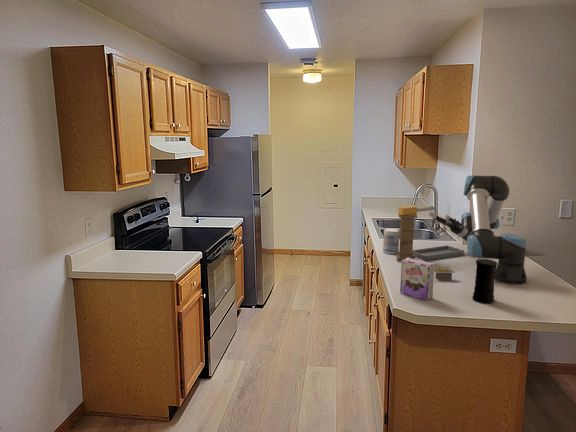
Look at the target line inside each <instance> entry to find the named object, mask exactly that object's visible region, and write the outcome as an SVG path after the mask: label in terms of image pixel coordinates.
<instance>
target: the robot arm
mask: <svg viewBox="0 0 576 432" xmlns="http://www.w3.org/2000/svg"><path fill="white" fill-rule="evenodd" d="M509 195H510V187H509V185H508V183H507V181H506V180H505V179H504V178H502V177H501V176H497V175H475V174H474V175H468V176H466V177H465V181H464V187H463V196H465V197H466V199H467V200H468V201H469V202H470V203H469V204H470V212H463V213H462V214H461V219H460V221H459V220H457V219H456V218H453V217H451V216H450V215H448V214H447V213H446V214H445V215H444V217H440V216H438V214H436V213H434V212H433V211H432V210H429V211H428V213H427V215H428V216H429V217H431V218H432V220H433V221H436V222H438V223H440V224H442V225H443V226H445V227H446V226H447V227H448V228H449V230H450V231H451V233H453V234H455V235H456V236H457V237H458V238H461V239H463V240H464V241H465V242H466V247H467V252H468V254H469V256H470V257H471V258H477V259H489V260H492V259H493V260H498V262H497V266H496V269H495V272H496V273H495V280H496V281H498V282H501V283H504V284H510V285H523V284H526V283H527V280H528V277H527V274H526V273H527V272H526V268H525V261H526V259H525V258H526V249H527V240H526V238H525V237H523V236H520V235H517V234H514V233H505V232H504V233H502V232H501V234H500V235H499V236H497V235H495V232H494V231H493V230H498V229H499V227H500V219H499V216H500V213H501V210H502V208H503V205H504V202H505V201H506V200H507V199H508V198H509ZM489 197H490V199H489V201H488V198H489Z"/></svg>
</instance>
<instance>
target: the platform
mask: <svg viewBox="0 0 576 432" xmlns="http://www.w3.org/2000/svg"><path fill="white" fill-rule="evenodd" d="M454 273H455V271H454V270H451V269H449V267H448V266H445V267H444V266H441V267H440V266H437V267H436V269H435V268H434V274H435V280H436V279H442V281H445V280H446V281H447V280H448V281H452V278H453V274H454ZM443 279H444V280H443Z"/></svg>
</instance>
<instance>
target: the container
mask: <svg viewBox="0 0 576 432" xmlns="http://www.w3.org/2000/svg"><path fill="white" fill-rule="evenodd" d="M475 264H476V270H475V281H474V282H475V283H474V289H473V293H472V300H473V301H475V302H476V303H479V304H484V305H485V304H486V305H487V304H493V303H494V302H495V294H494V293H495V282H496V281H495V280H496V279H495V273H496V272H495V269H496V267H497V265H498V262H497V261H496V260H492V259H489V258H478V259H476V261H475Z"/></svg>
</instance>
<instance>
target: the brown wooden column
mask: <svg viewBox="0 0 576 432" xmlns="http://www.w3.org/2000/svg"><path fill="white" fill-rule="evenodd" d="M398 213H399V211H398ZM398 213H397V214H398ZM398 218H400V228H399V250H398V253H397V254H395V255H396V257H397V258H396V257H395V258H396V262H397V261H402V260H403V259H406V258H411V259H415V260H416V257H414V255H412V251H413V250H414V248H413V247H414V230H415V228H414V226H415V219H418V214H408V215H401V214H398Z"/></svg>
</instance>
